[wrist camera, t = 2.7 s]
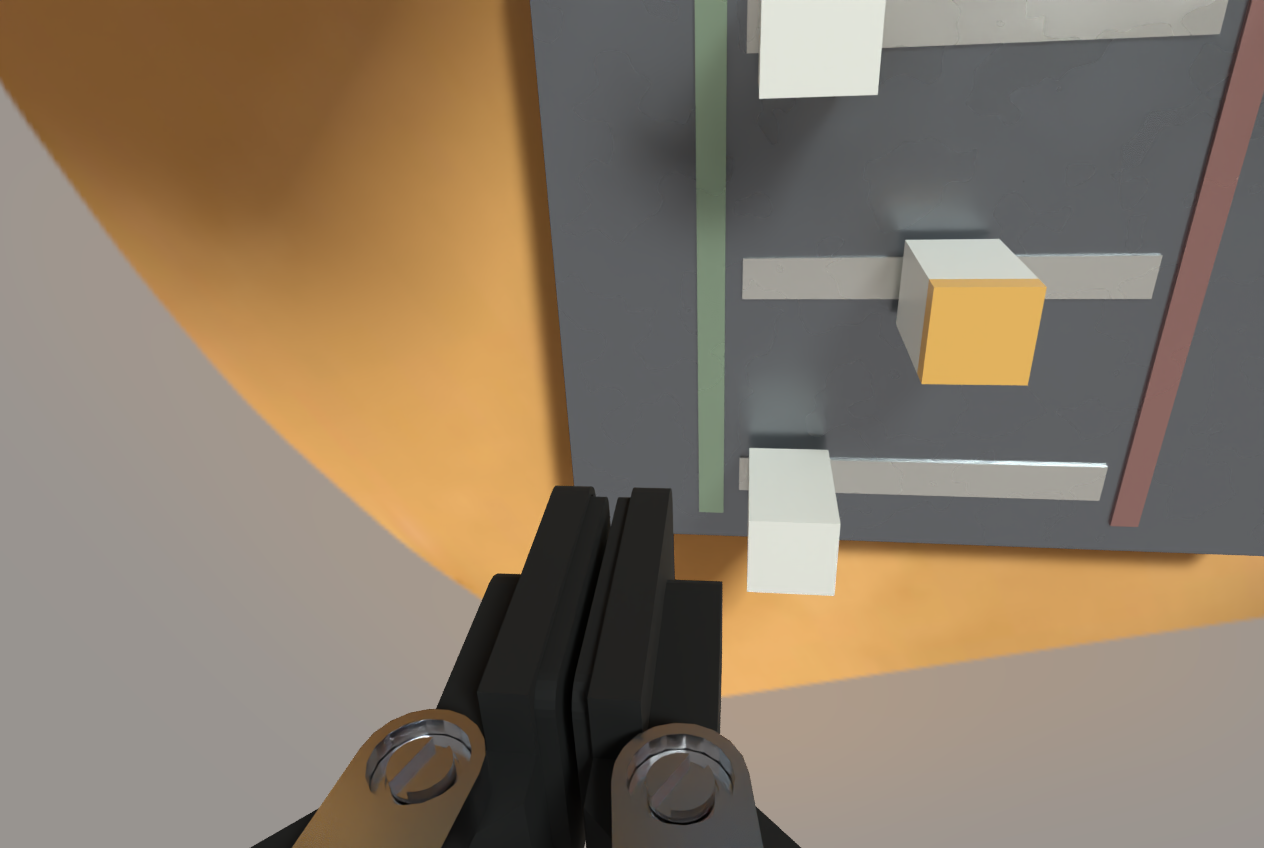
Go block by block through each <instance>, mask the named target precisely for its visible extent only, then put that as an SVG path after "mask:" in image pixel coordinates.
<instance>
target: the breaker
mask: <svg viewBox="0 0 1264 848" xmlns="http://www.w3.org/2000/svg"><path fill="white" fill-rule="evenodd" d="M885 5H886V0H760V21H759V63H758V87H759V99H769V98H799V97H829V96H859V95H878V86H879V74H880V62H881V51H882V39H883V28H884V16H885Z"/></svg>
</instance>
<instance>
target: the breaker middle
mask: <svg viewBox="0 0 1264 848" xmlns="http://www.w3.org/2000/svg"><path fill="white" fill-rule="evenodd" d="M1046 289H1047V287H1046V286H1045V285H1044V284H1043V283H1042V282H1041V281H1040V280H1039V279H1038V278H1037V277H1036V276H1035V275H1034V274H1033V272H1032V271H1031V270H1030V269H1029V268H1028V267H1027V266H1026V265H1025V264H1024V263H1023V262H1022V261H1021V260H1020V259H1019V258H1018V257H1017V256H1016V255H1015V254H1014V253H1013V252H1012V251H1011V250H1010V249H1009V248H1008V247H1007V246H1006V245H1005V244H1004V243H1003V242H1002V241H1001V240H1000V239H942V240H905V246H904V255H903V265H902V274H901V283H900V292H899V301H898V310H897V319H896V325H897V328H898V330H899V333H900V335H901V337H902V340H903V342H904V344H905V347H906V349H907V351H908V354H909V356H910V358H911V361H912V363H913V365H914V368H915V370H916V372H917V375H918V377H919V379H920V382H921V384H952V385H1028V381H1029V376H1030V371H1031V366H1032V361H1033V356H1034V350H1035V345H1036V340H1037V335H1038V330H1039V325H1040V320H1041V315H1042V309H1043V304H1044V299H1045V294H1046Z"/></svg>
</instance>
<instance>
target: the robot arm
mask: <svg viewBox="0 0 1264 848" xmlns="http://www.w3.org/2000/svg"><path fill="white" fill-rule="evenodd" d="M721 674H722V582H720V581H692V580H675V572H674V535H673V500H672V489H671V488H637V487H634V488H633V490H632V493H631V497H618V499H617V503H616V507H615V511H614V515H613V520H612V524H610V510H609V501H608V498H607V497H596V494H595V490H594V488H593V487H592V486H555V487H554V489H553V491H552V493H551V496H550V499H549V501H548V504H547V507H546V509H545V512H544V515H543V517H542V520H541V523H540V525H539V528H538V531H537V533H536V536H535V539H534V541H533V544H532V547H531V549H530V552H529V554H528V557H527V560H526V562H525V565H524V568H523V570H522V573H521V574H496V575H494V576H493V578H492V579H491V581H490V583H489V585H488V588H487V590H486V592H485V595H484V597H483V599H482V602H481V604H480V606H479V609H478V611H477V613H476V616H475V618H474V621H473V623H472V625H471V628H470V630H469V633H468V635H467V637H466V640H465V642H464V644H463V646H462V649H461V651H460V654H459V656H458V658H457V661H456V663H455V666H454V668H453V670H452V672H451V675H450V677H449V680H448V682H447V684H446V687H445V689H444V691H443V694H442V696H441V699H440V701H439V703H438V705H437V708H436V709H427V710H422V711H416V712H411V713H408V714H406V715H404V716H401V717H399V718H396V719H394V720H392V721H390V722H389V723H387V724H386V725H384V726H383V727H382V728H380V729H379V730H377V731H376V732H374V733H373V734H372V735H371V737H370V738H369V739H368V740H367V741H366V742H365V743H364V744H363V746H362V747H361V748H360V749H359V751H358V752H357V754H356V755H355V757H354V758H353V760H352V761H351V762H350V764H349V765H348V767H347V768H346V770H345V771H344V773H343V774H342V775H341V777H340V778H339V780H338V781H337V783H336V784H335V786H334V787H333V789H332V790H331V791H330V793H329V794H328V796H327V797H326V799H325V800H324V802H323V803H322V805H321V806H320V807H319V808H318V809H317V810H315V811H313V812H312V813H310V814H308V815H306V816H305V817H303V818H301V819H299V820H298V821H296V822H295V823H293V824H291V825H289V826H287V827H285V828H284V829H282V830H280V831H279V832H277V833H275V834H273V835H272V836H270V837H268V838H266V839H265V840H263V841H261V842H259V843H258V844H256V845H254V846H253V847H251V848H584V845H585V840H586V848H801V847H800V846H799V845H797V844H796V843H795V842H794V841H793V840H792V839H791V838H790V837H789V836H788V835H786V834H785V833H784V832H783V831H782V830H781V829H780V828H779V827H778V826H777V825H776V824H775V823H773V822H772V821H771V820H770V819H769V818H768V817H767V816H766V815H765V814H764V813H762V812H761V811H760V810H759V809H758V808H757V807H756V806H755V801H754V796H753V791H752V786H751V780H750V775H749V772H748V769H747V766H746V764H745V761H744V758H743V756H742V754H741V753H740V752H739V751H738V750H737V749H736V747H735V746H734V745H733V744H732V743H731V741H730V740H728V739H726V738H725V737H723V736H722V735H720V712H721V710H720V709H721Z"/></svg>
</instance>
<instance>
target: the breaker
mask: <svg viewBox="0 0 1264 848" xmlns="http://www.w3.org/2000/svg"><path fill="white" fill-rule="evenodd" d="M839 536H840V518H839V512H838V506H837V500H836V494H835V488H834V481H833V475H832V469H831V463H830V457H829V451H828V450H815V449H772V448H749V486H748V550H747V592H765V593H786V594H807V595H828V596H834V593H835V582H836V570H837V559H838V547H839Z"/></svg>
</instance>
